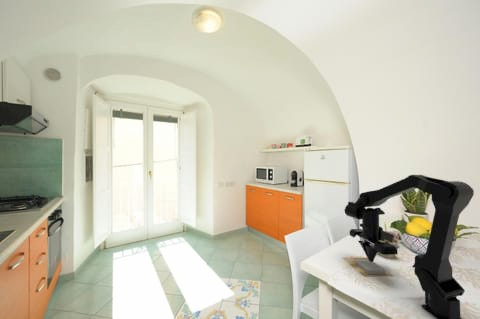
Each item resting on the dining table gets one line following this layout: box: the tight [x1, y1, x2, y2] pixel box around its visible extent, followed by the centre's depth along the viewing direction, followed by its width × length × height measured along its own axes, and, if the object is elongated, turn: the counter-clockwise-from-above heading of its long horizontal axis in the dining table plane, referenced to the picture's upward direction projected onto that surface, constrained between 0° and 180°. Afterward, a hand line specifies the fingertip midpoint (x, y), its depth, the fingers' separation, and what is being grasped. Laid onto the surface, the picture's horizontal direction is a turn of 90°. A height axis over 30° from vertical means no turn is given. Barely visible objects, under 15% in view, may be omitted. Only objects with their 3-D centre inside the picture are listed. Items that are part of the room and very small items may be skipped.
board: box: [342, 257, 394, 278], centre depth 77 cm, size 14×12×1 cm
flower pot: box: [377, 239, 400, 259], centre depth 87 cm, size 9×9×9 cm
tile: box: [356, 261, 386, 274], centre depth 75 cm, size 2×7×7 cm
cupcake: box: [383, 221, 400, 241], centre depth 101 cm, size 9×8×12 cm
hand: (371, 261), depth 74 cm, fingers closed
